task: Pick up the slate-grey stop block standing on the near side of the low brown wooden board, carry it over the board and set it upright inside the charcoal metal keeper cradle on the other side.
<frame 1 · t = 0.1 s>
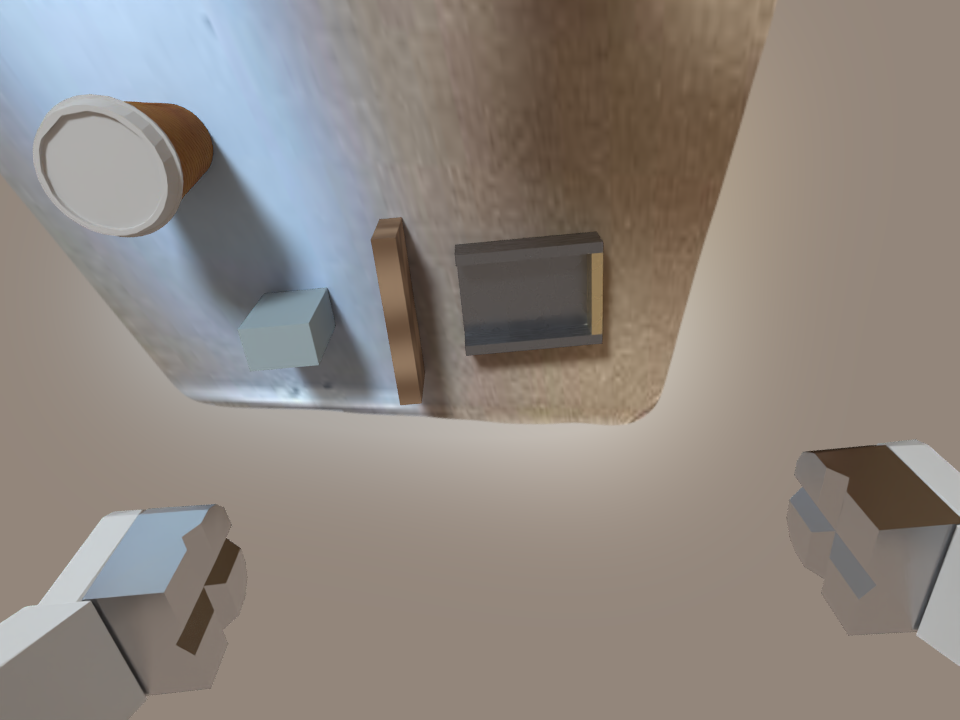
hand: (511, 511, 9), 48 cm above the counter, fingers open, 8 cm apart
stop block: (300, 309, 59), on the counter
disposable coffee cup: (175, 143, 52), on the counter
keeper: (528, 288, 59), on the counter
brown wooden board: (403, 300, 59), on the counter
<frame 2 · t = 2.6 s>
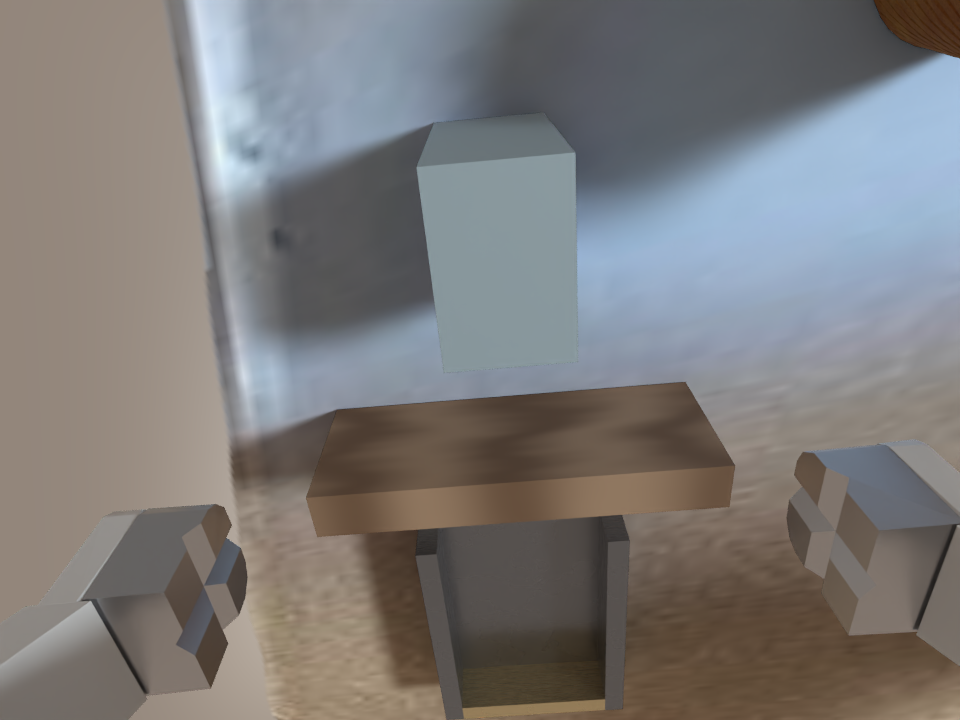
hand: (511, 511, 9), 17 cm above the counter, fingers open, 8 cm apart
stop block: (494, 199, 24), on the counter
keeper: (524, 592, 34), on the counter
brown wooden board: (510, 414, 29), on the counter
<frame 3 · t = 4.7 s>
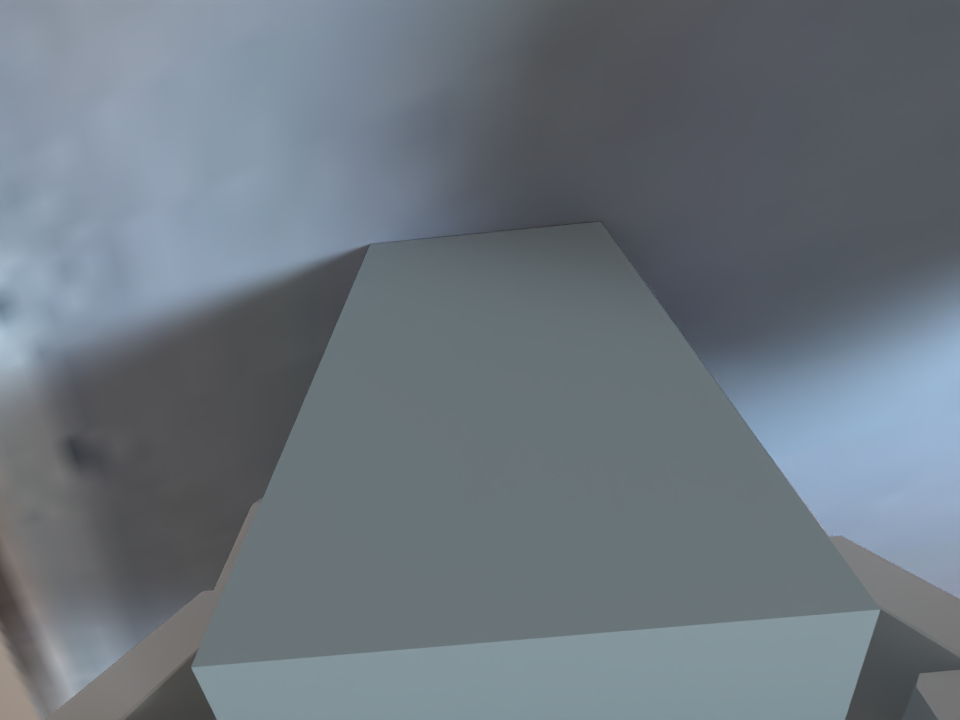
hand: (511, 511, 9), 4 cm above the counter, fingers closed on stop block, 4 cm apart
stop block: (498, 381, 12), on the counter, touching gripper
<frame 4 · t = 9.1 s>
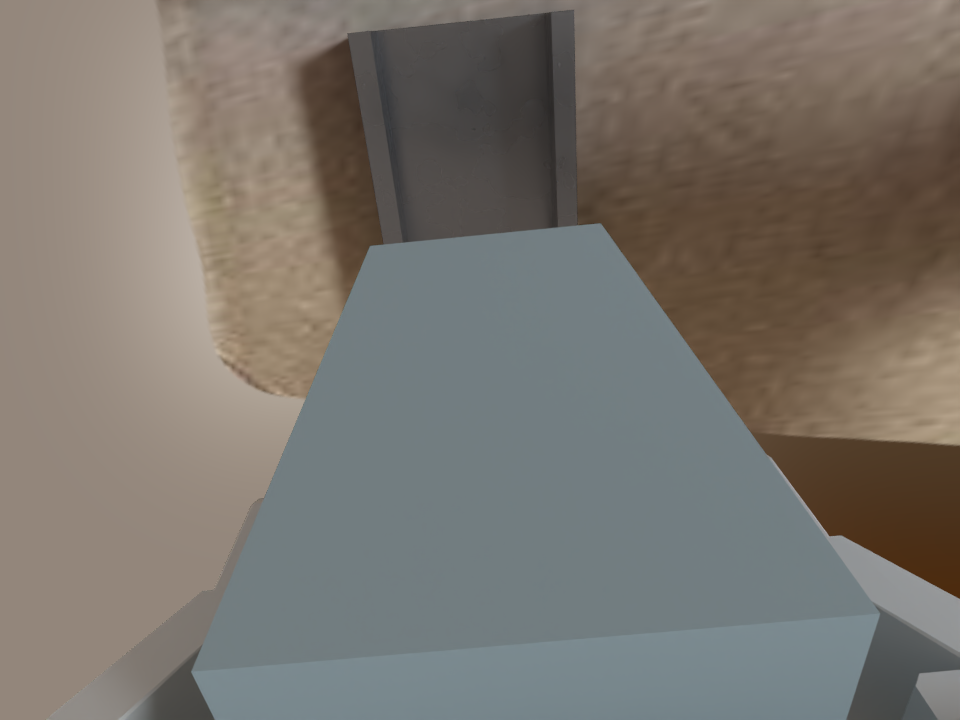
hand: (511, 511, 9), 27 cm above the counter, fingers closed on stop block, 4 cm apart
stop block: (498, 383, 12), point 23 cm above the counter, touching gripper
keeper: (473, 161, 33), on the counter
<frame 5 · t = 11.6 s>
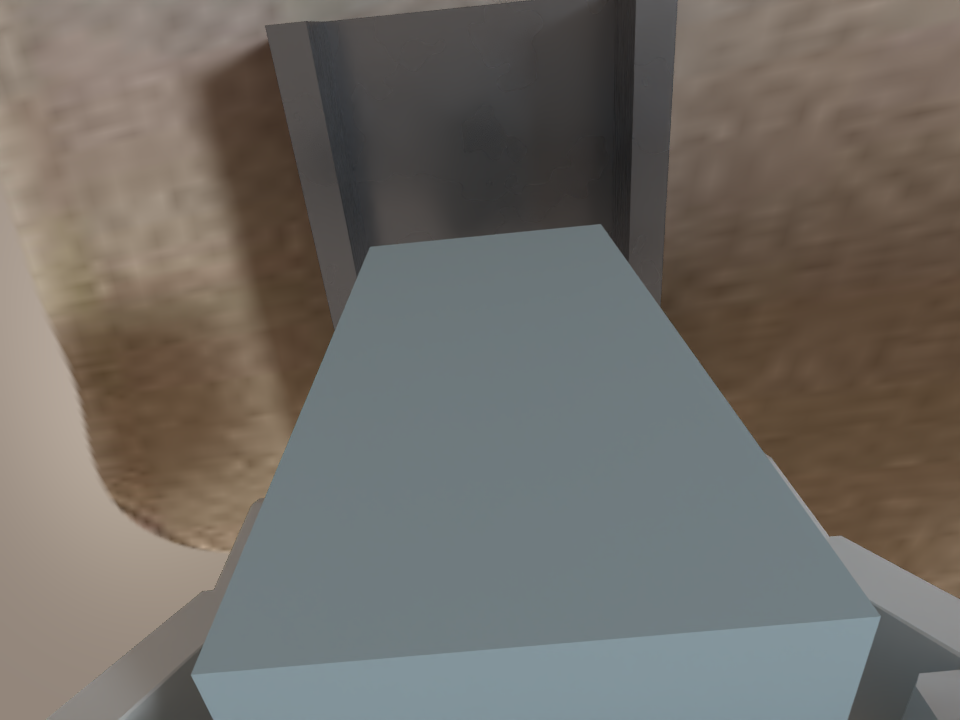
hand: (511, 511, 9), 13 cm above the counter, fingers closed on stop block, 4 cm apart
stop block: (498, 384, 12), point 10 cm above the counter, touching gripper
keeper: (488, 230, 20), on the counter
when the fingers open (6 cm above the counter, at t = 13.8 s): stop block drops 2 cm, resting on keeper.
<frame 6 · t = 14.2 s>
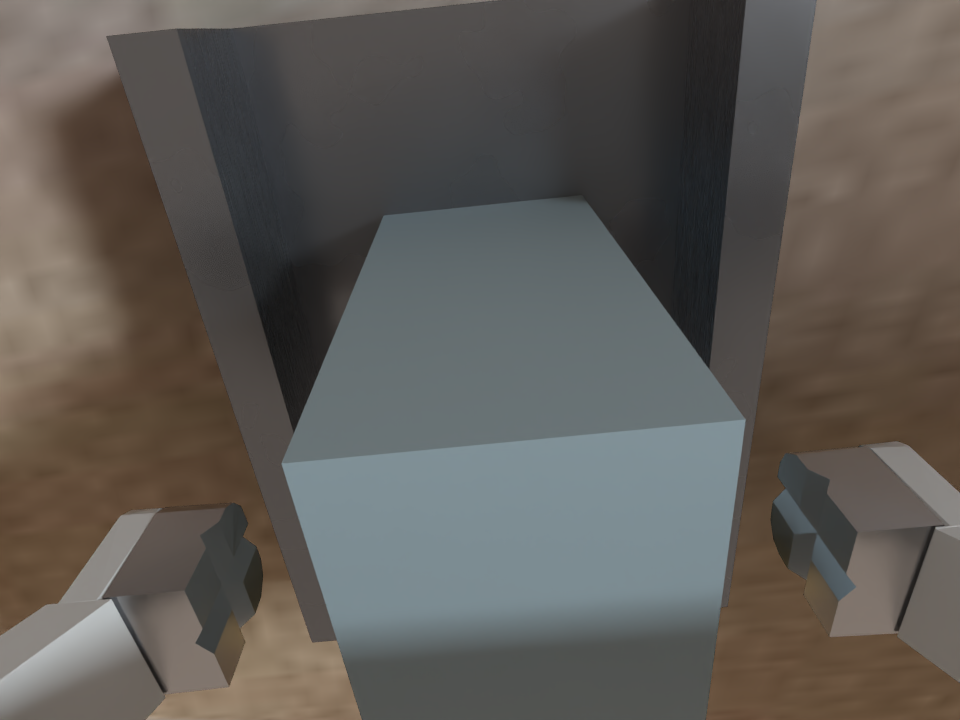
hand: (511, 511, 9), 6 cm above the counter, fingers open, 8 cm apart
stop block: (495, 338, 14), point 1 cm above the counter, touching keeper
keeper: (490, 327, 14), on the counter
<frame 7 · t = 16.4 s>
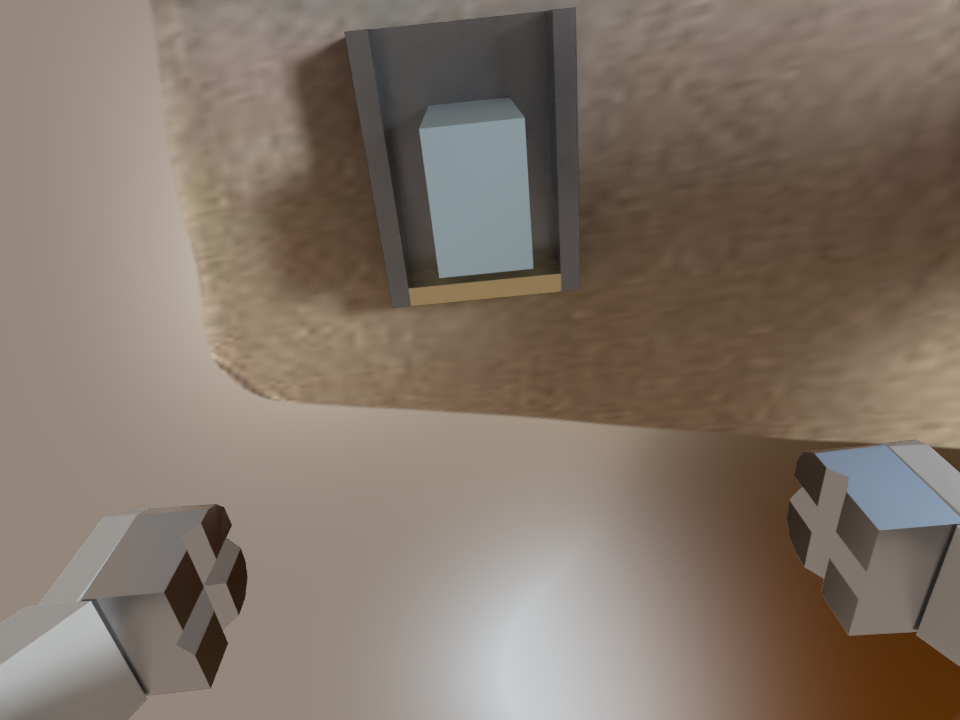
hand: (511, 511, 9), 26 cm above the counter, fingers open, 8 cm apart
stop block: (474, 164, 32), point 1 cm above the counter, touching keeper
keeper: (473, 161, 32), on the counter
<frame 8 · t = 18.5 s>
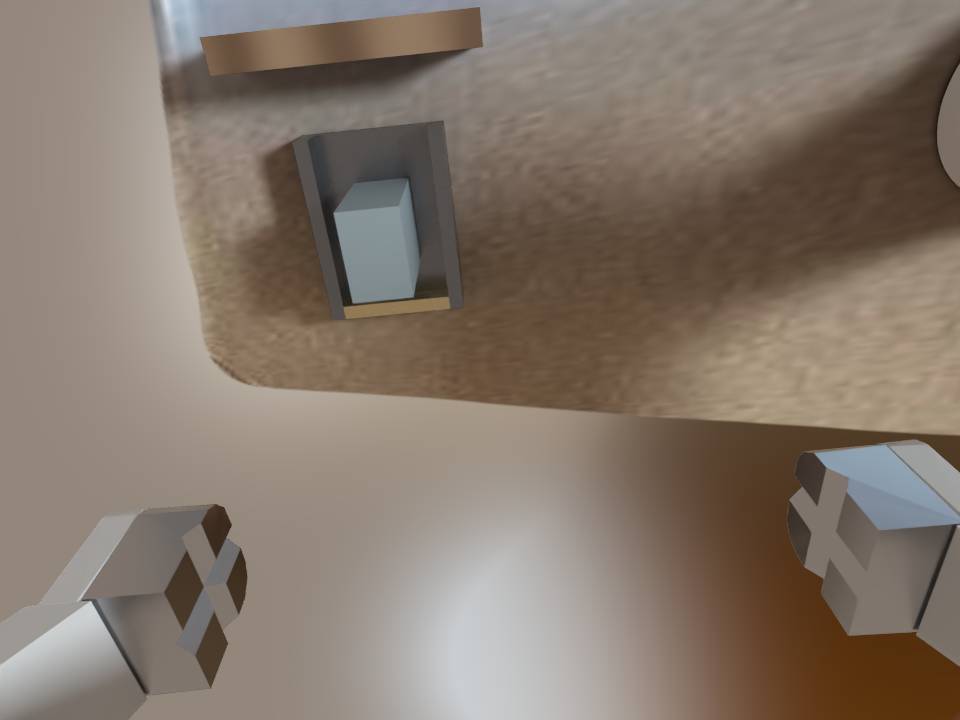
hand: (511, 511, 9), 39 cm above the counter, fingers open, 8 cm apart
stop block: (388, 221, 46), point 1 cm above the counter, touching keeper
keeper: (388, 219, 46), on the counter
brown wooden board: (358, 40, 40), on the counter
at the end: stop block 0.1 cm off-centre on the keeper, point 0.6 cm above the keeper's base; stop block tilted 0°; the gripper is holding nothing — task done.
